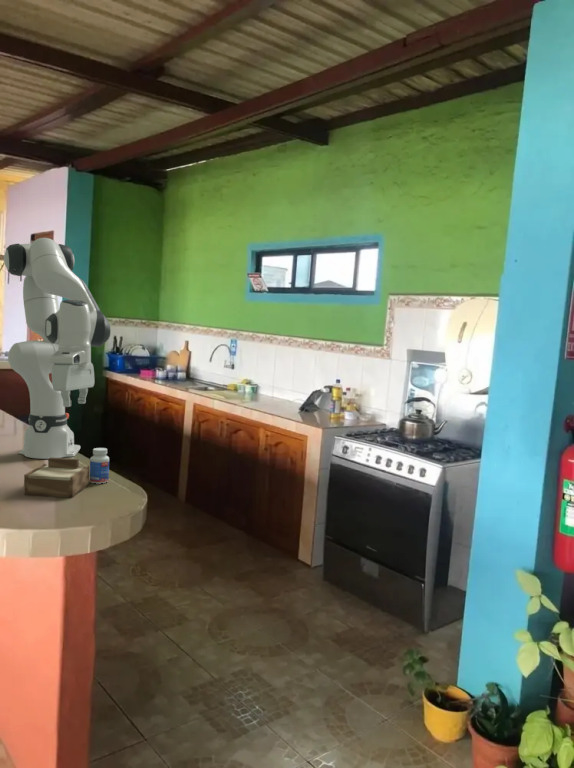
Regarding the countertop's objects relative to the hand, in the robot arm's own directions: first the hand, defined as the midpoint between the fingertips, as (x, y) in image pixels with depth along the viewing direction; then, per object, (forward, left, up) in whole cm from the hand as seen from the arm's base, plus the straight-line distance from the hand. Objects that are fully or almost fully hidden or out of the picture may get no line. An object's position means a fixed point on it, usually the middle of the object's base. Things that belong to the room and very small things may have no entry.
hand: (74, 405), depth 182 cm
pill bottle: (-2, +7, -23) cm, 24 cm away
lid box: (+9, -1, -23) cm, 24 cm away
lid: (+9, -1, -18) cm, 20 cm away
